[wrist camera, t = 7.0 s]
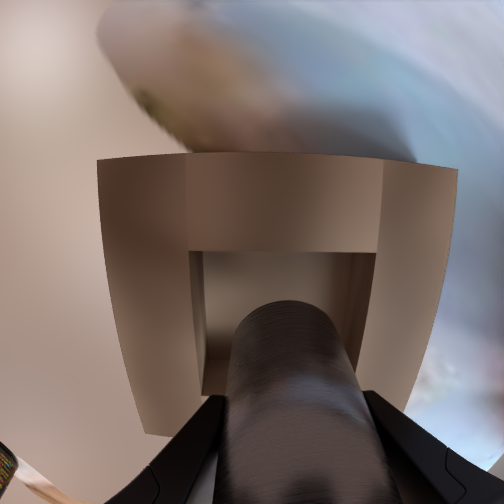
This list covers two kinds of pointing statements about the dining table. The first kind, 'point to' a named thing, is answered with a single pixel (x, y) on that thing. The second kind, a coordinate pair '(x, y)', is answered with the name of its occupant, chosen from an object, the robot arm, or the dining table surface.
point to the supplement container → (6, 467)
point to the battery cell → (297, 417)
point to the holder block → (269, 263)
